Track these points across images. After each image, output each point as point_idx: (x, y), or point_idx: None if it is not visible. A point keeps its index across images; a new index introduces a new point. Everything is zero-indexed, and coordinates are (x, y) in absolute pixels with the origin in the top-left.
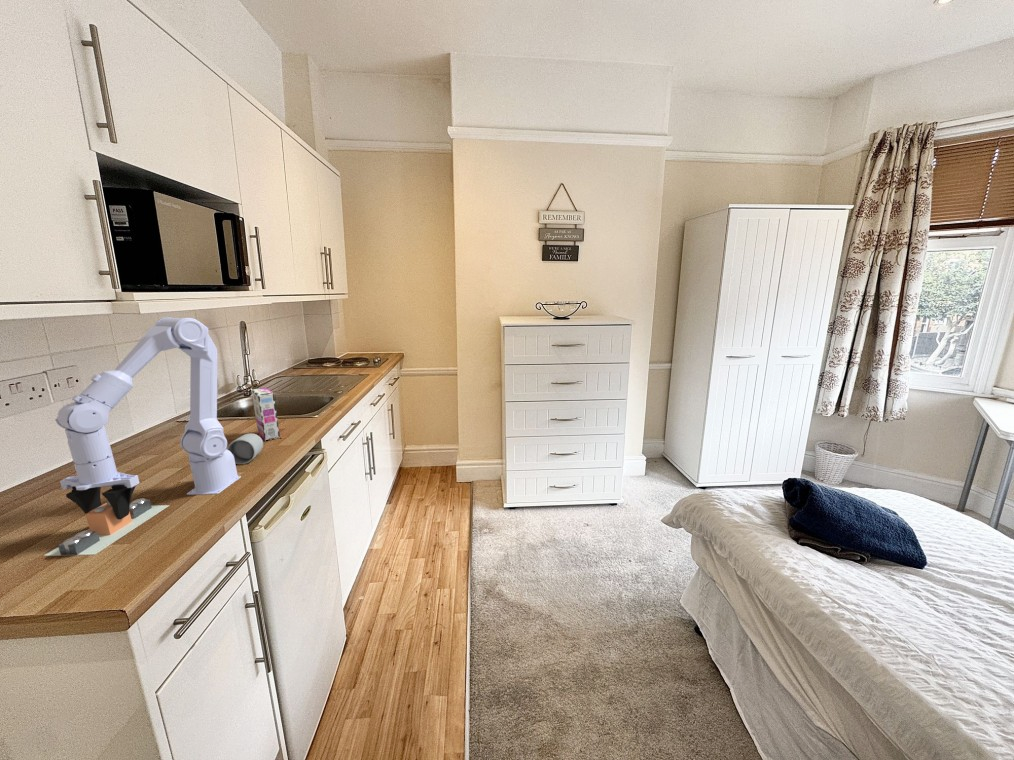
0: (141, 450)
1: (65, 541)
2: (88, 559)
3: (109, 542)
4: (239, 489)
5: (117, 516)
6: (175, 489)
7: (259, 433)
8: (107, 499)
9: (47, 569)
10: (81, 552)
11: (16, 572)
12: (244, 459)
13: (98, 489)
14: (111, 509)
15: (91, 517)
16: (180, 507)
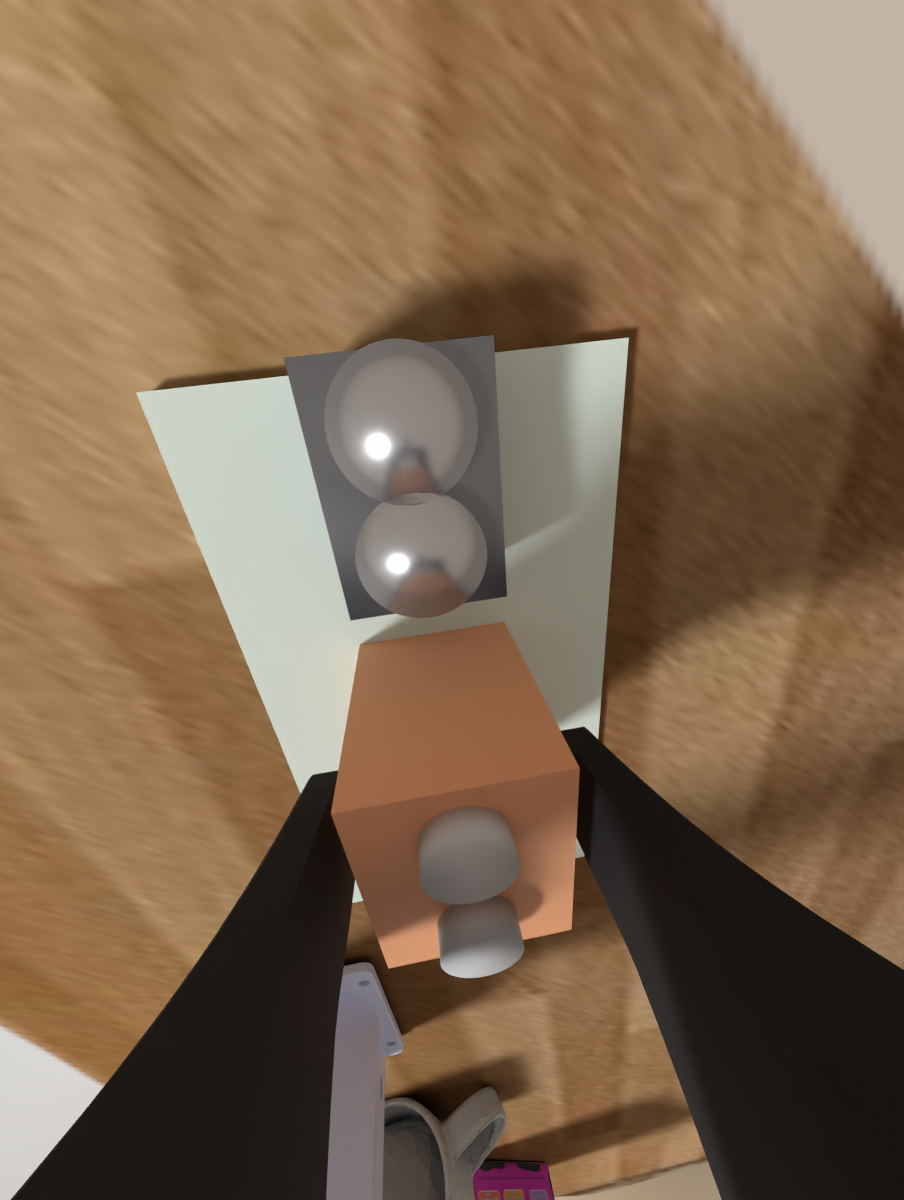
0: None
1: (453, 396)
2: (152, 339)
3: (242, 567)
4: (141, 1033)
5: (311, 798)
6: None
7: (531, 1174)
8: (184, 1175)
9: (382, 130)
10: None
11: (662, 58)
12: (411, 1114)
13: (722, 1177)
14: (364, 873)
15: (500, 742)
16: None
